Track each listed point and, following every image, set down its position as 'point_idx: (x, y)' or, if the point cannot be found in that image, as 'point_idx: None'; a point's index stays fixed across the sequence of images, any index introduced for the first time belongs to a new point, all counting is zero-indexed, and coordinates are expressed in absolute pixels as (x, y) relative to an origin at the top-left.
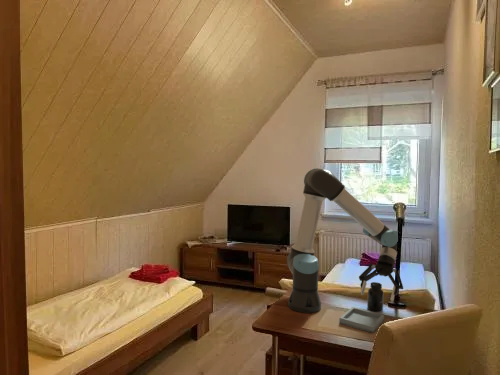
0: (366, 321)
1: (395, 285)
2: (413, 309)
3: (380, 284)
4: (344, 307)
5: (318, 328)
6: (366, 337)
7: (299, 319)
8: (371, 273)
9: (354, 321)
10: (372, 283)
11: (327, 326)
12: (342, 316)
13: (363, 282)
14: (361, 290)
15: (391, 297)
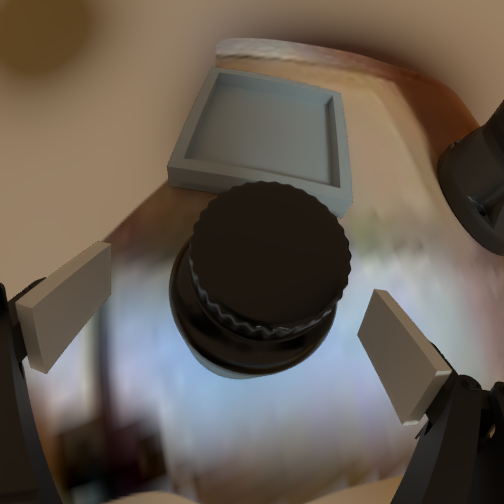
0: (247, 125)
1: (4, 318)
2: None
3: (207, 243)
4: (395, 261)
5: (362, 80)
6: (227, 64)
7: (427, 114)
8: (455, 488)
9: (284, 81)
10: (325, 232)
11: (351, 90)
12: (338, 102)
13: (436, 352)
14: (390, 301)
15: (96, 248)
